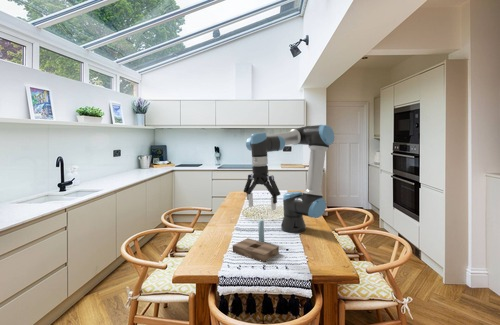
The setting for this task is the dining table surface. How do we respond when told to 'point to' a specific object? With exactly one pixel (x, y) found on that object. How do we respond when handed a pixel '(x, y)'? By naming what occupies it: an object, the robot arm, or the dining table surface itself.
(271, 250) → the hole block
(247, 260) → the dining table surface
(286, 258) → the dining table surface
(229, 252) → the dining table surface
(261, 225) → the peg
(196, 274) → the dining table surface
